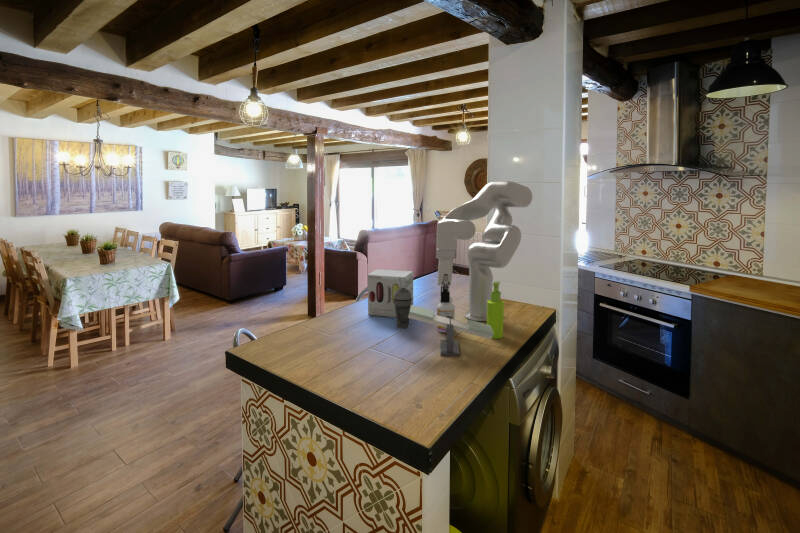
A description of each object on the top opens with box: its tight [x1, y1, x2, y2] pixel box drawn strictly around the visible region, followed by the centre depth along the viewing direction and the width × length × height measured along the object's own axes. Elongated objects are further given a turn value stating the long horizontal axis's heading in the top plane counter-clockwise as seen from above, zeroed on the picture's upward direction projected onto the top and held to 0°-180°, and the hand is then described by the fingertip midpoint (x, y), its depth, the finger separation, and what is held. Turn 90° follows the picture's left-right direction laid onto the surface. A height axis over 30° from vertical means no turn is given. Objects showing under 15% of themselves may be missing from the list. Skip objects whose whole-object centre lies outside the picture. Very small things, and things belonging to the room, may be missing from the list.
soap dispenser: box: [486, 281, 505, 340], centre depth 150 cm, size 6×7×20 cm
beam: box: [408, 304, 494, 340], centre depth 137 cm, size 28×8×3 cm, turn 86°
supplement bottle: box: [436, 296, 456, 334], centre depth 156 cm, size 7×7×13 cm
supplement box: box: [367, 268, 414, 318], centre depth 179 cm, size 17×13×18 cm
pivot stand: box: [439, 316, 460, 357], centre depth 138 cm, size 6×12×10 cm, turn 175°
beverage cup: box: [394, 277, 412, 330], centre depth 160 cm, size 7×7×20 cm
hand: (444, 299), depth 155 cm, fingers open, 9 cm apart
